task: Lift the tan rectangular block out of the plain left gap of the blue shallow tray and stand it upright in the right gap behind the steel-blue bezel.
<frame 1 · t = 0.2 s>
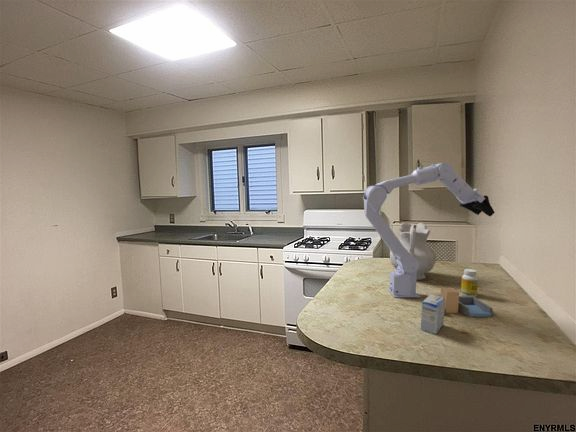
hand: (485, 213, 118), 31 cm above the counter, tool tilted 45°, fingers open, 7 cm apart
ceramic pitcher: (411, 277, 145), on the counter
blue shallow tray: (460, 310, 108), on the counter
tan rectangular block: (448, 310, 108), on the counter
supplement bottle: (468, 295, 122), on the counter
medicine box: (432, 328, 95), on the counter
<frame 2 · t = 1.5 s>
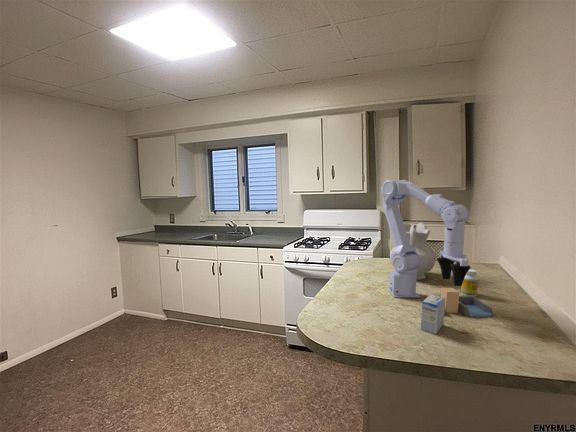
hand: (451, 282, 107), 10 cm above the counter, tool pointing down, fingers open, 7 cm apart
nothing on the counter moved.
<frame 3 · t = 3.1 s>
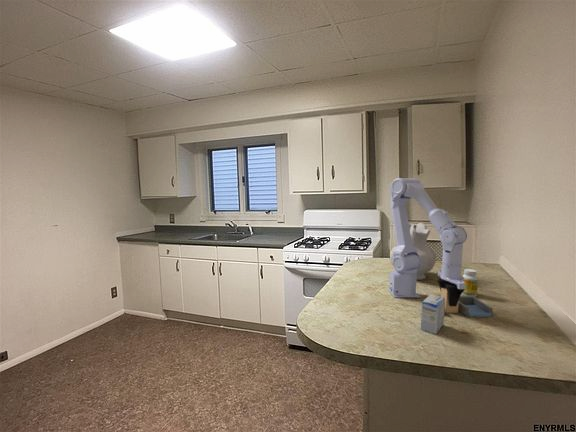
hand: (449, 303, 107), 2 cm above the counter, tool pointing down, fingers closed on tan rectangular block, 4 cm apart
tan rectangular block: (448, 310, 108), on the counter, touching gripper
everything else where it was.
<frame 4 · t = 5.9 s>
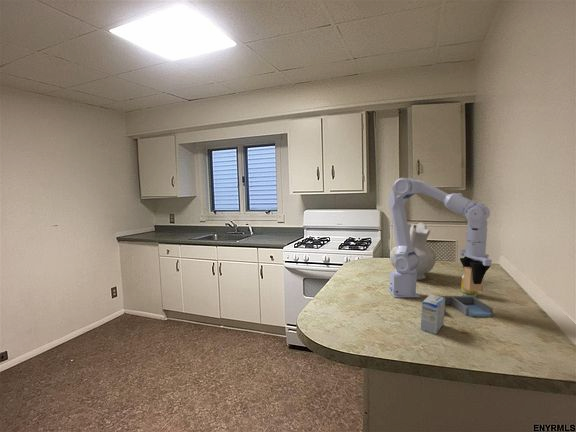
hand: (473, 281, 106), 10 cm above the counter, tool pointing down, fingers closed on tan rectangular block, 4 cm apart
tan rectangular block: (472, 288, 107), point 7 cm above the counter, touching gripper
everything else where it was.
when the fingers open (3 cm above the counter, at t = 8.6 s): tan rectangular block stays where it is, resting on blue shallow tray.
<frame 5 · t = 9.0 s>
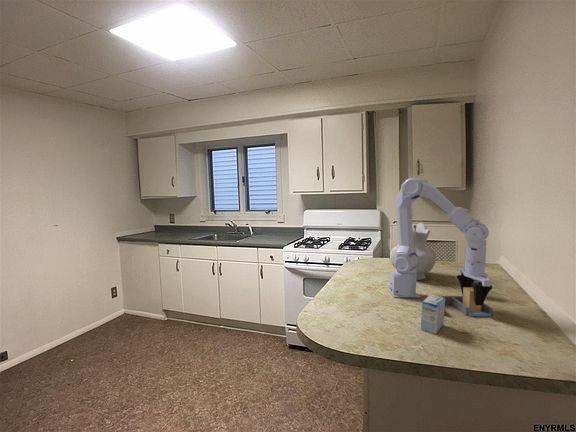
hand: (472, 300, 107), 3 cm above the counter, tool pointing down, fingers open, 7 cm apart
tan rectangular block: (471, 309, 108), resting on blue shallow tray
everything else where it was.
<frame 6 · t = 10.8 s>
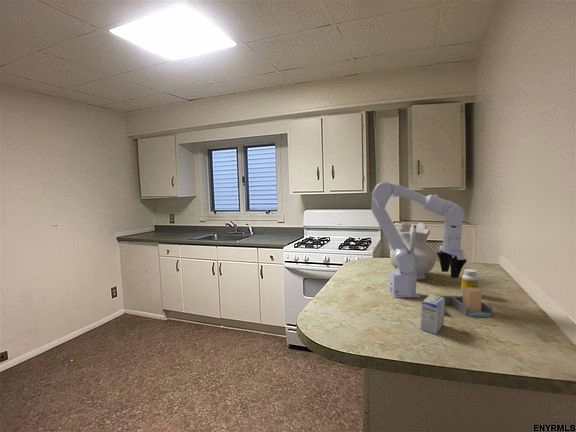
hand: (449, 274, 116), 9 cm above the counter, tool pointing down, fingers open, 7 cm apart
nothing on the counter moved.
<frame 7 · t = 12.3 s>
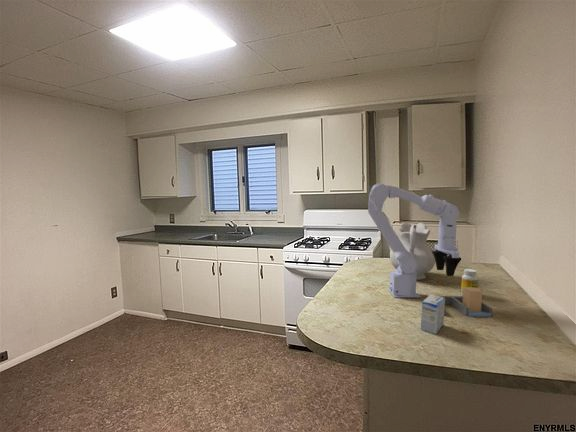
hand: (444, 272, 119), 9 cm above the counter, tool pointing down, fingers open, 7 cm apart
nothing on the counter moved.
at the end: tan rectangular block 0.2 cm from the target spot on the blue shallow tray, point 0.3 cm above the blue shallow tray's base; tan rectangular block tilted 0°; the gripper is holding nothing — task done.
